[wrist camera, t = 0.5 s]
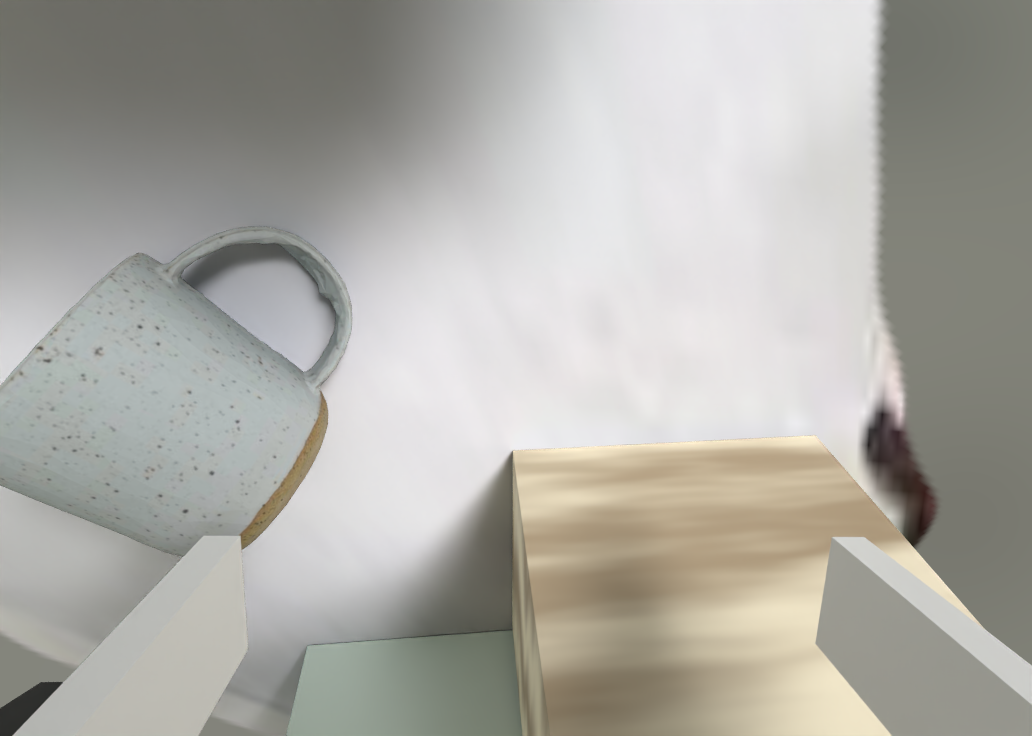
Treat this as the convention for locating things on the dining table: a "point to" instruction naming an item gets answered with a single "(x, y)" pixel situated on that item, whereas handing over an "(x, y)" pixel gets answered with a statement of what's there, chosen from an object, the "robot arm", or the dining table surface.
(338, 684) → the block
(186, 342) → the ceramic mug
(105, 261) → the dining table surface
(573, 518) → the tall wood-grain block
